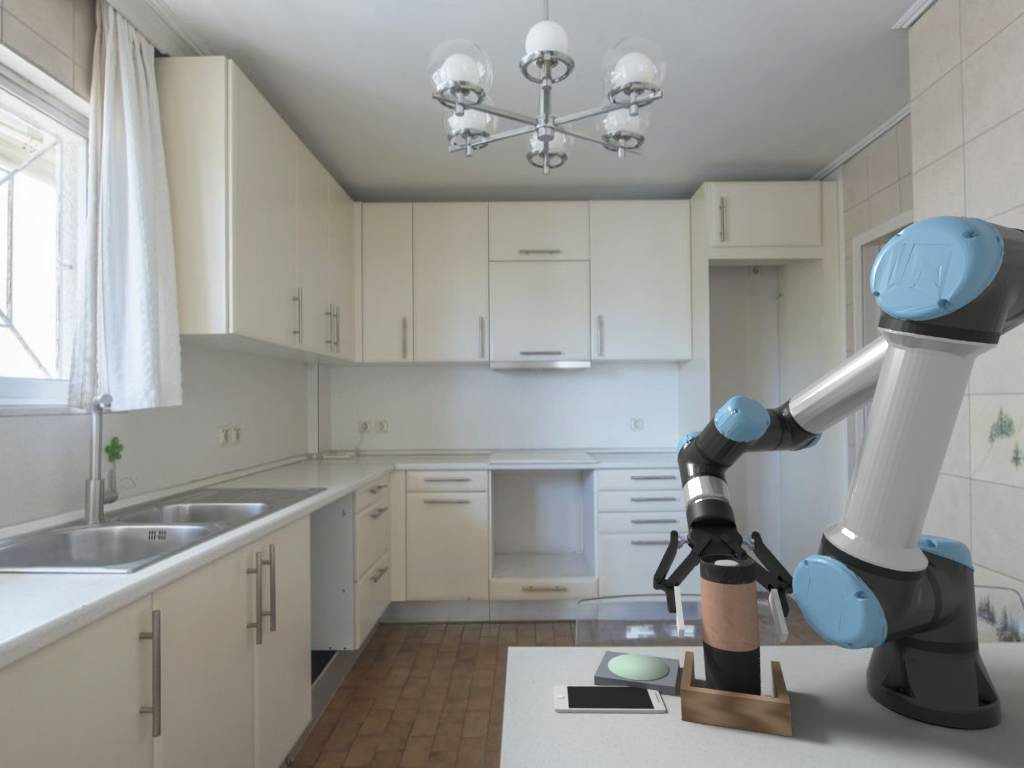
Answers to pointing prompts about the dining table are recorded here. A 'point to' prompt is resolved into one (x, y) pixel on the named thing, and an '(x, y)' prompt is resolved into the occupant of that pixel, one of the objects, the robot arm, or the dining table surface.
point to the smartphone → (607, 699)
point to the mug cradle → (736, 704)
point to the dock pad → (638, 672)
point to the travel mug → (730, 624)
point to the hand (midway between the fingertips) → (731, 636)
